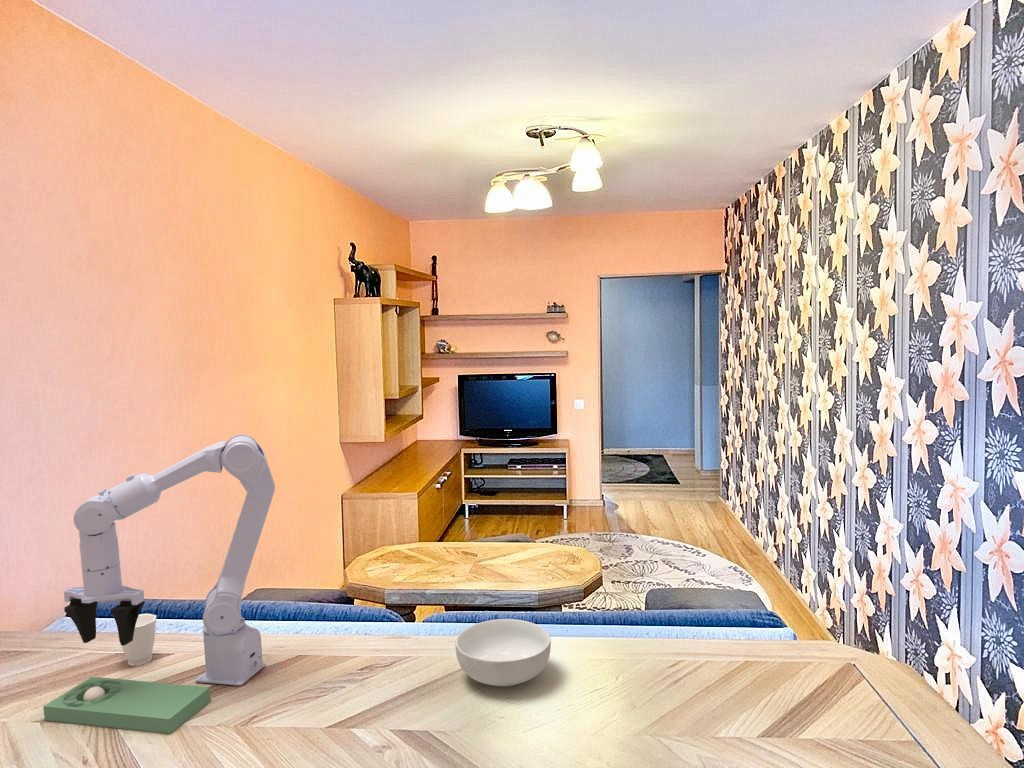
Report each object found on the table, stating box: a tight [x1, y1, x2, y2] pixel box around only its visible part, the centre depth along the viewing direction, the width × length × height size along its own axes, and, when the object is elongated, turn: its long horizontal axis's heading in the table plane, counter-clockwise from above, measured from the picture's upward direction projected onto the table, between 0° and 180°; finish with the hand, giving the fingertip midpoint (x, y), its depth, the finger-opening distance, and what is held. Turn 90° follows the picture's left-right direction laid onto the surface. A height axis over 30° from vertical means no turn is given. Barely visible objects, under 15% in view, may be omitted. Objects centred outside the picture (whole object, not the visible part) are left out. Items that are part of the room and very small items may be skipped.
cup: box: [116, 613, 157, 667], centre depth 137 cm, size 7×10×8 cm
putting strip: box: [43, 676, 212, 735], centre depth 118 cm, size 24×10×2 cm, turn 77°
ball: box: [83, 686, 105, 701], centre depth 119 cm, size 3×3×3 cm
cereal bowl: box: [454, 618, 552, 688], centre depth 125 cm, size 17×17×7 cm
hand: (108, 641), depth 122 cm, fingers open, 7 cm apart
